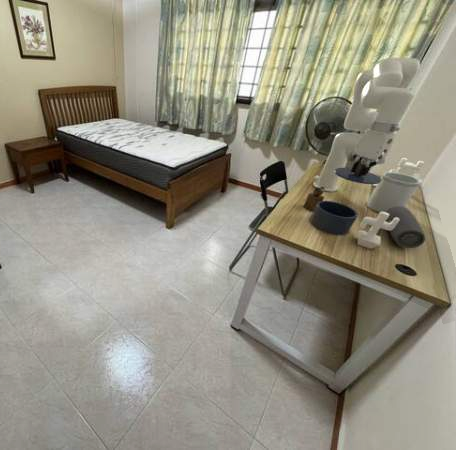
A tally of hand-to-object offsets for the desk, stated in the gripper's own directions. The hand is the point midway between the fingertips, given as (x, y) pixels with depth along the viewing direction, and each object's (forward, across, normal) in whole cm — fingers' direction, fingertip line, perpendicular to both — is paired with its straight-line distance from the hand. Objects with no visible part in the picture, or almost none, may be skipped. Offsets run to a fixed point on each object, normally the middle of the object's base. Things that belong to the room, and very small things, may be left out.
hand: (358, 173), depth 100 cm
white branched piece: (+25, +20, -65) cm, 72 cm away
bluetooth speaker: (+24, -16, -18) cm, 34 cm away
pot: (+24, -3, +5) cm, 24 cm away
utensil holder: (+24, +4, -37) cm, 44 cm away
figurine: (+24, -18, +2) cm, 30 cm away
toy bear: (+24, +12, +1) cm, 27 cm away
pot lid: (+1, 0, 0) cm, 1 cm away
